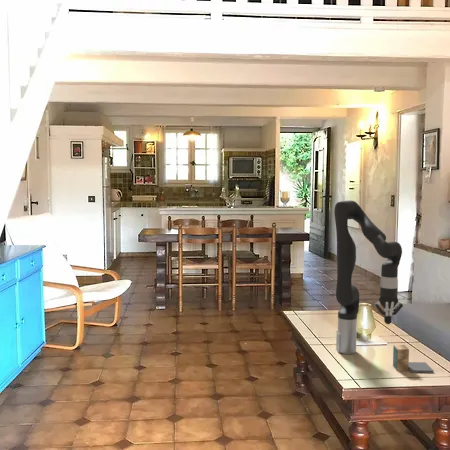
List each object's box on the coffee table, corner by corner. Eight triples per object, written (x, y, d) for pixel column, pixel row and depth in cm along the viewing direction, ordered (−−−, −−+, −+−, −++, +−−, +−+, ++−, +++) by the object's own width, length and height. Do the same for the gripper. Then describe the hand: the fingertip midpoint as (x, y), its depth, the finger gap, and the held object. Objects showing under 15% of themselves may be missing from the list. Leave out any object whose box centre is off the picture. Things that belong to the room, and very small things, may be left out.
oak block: (396, 370, 231) (397, 349, 230) (392, 365, 237) (393, 344, 236) (408, 370, 231) (409, 349, 230) (404, 365, 237) (404, 344, 236)
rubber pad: (410, 372, 229) (411, 370, 229) (403, 364, 239) (403, 362, 239) (433, 372, 229) (433, 370, 228) (425, 364, 238) (425, 362, 238)
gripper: (376, 287, 227) (375, 326, 228) (406, 288, 226) (405, 326, 228) (372, 284, 234) (370, 321, 236) (401, 284, 234) (399, 321, 236)
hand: (387, 323), depth 232 cm, fingers closed
